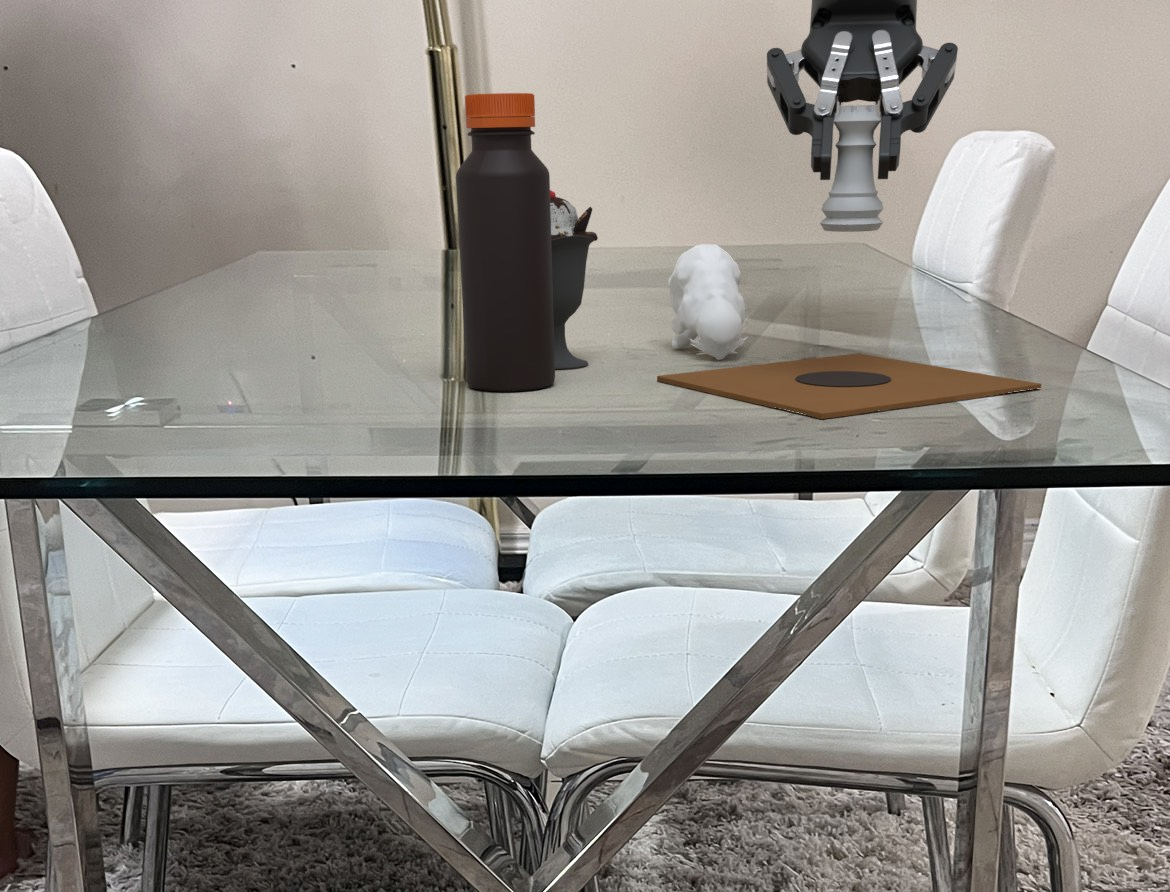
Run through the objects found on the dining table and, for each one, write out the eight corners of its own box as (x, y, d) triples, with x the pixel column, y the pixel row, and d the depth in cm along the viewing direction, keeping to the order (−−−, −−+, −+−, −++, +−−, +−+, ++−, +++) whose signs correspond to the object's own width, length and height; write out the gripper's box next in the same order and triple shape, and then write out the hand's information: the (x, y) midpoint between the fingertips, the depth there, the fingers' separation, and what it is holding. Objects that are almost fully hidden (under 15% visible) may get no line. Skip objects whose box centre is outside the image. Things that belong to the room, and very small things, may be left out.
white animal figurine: (738, 239, 122) (765, 263, 112) (733, 338, 127) (759, 371, 116) (666, 240, 122) (686, 265, 112) (664, 341, 126) (684, 373, 116)
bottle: (514, 375, 111) (503, 96, 103) (574, 384, 107) (567, 92, 99) (448, 386, 107) (431, 95, 99) (507, 395, 103) (495, 92, 94)
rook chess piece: (819, 232, 98) (825, 105, 95) (819, 228, 102) (824, 106, 99) (884, 231, 97) (892, 104, 94) (881, 227, 101) (889, 104, 98)
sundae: (504, 363, 117) (496, 168, 111) (576, 357, 120) (572, 166, 114) (538, 373, 112) (532, 169, 106) (612, 366, 115) (610, 167, 109)
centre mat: (1041, 389, 101) (1041, 382, 100) (821, 419, 92) (822, 411, 91) (858, 358, 116) (859, 351, 116) (656, 381, 108) (656, 374, 107)
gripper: (766, -59, 100) (750, 131, 94) (970, -68, 97) (966, 126, 92) (768, 30, 107) (753, 211, 101) (958, 23, 104) (954, 209, 99)
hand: (854, 169), depth 96 cm, fingers closed on rook chess piece, 3 cm apart
